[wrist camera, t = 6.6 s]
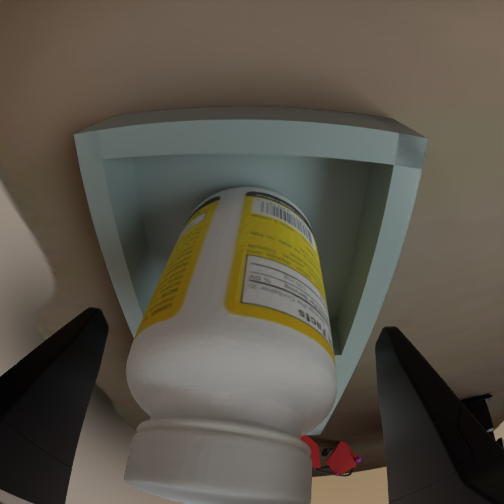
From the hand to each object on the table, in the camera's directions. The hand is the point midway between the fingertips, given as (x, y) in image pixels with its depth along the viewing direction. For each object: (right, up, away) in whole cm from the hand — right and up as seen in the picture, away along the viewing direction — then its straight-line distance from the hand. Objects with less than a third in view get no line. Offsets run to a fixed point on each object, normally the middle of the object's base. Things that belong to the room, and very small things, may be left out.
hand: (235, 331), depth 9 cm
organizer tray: (0, -1, +7) cm, 7 cm away
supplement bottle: (0, +3, +4) cm, 5 cm away
